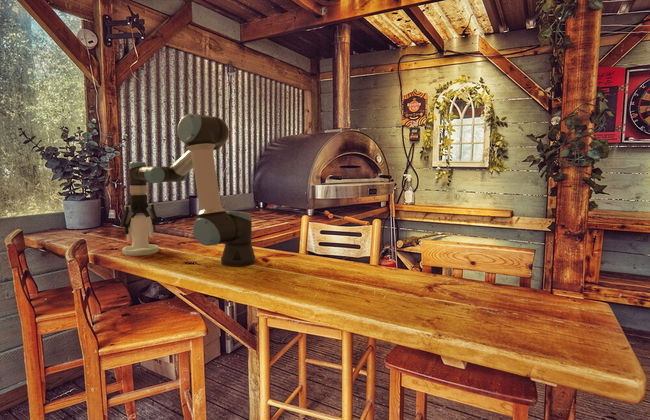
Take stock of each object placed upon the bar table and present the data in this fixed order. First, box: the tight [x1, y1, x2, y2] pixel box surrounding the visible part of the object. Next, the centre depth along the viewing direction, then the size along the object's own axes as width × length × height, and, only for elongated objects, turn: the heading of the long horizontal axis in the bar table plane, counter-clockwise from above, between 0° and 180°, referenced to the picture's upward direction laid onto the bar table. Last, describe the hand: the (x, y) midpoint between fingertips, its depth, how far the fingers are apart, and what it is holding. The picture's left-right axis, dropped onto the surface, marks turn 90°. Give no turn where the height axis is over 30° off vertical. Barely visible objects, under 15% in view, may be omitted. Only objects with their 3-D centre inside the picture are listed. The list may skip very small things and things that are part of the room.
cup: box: [129, 214, 152, 248], centre depth 191 cm, size 11×11×15 cm
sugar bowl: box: [125, 234, 155, 246], centre depth 209 cm, size 12×14×10 cm
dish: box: [121, 243, 160, 257], centre depth 192 cm, size 16×16×2 cm
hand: (140, 239), depth 191 cm, fingers closed on cup, 11 cm apart
